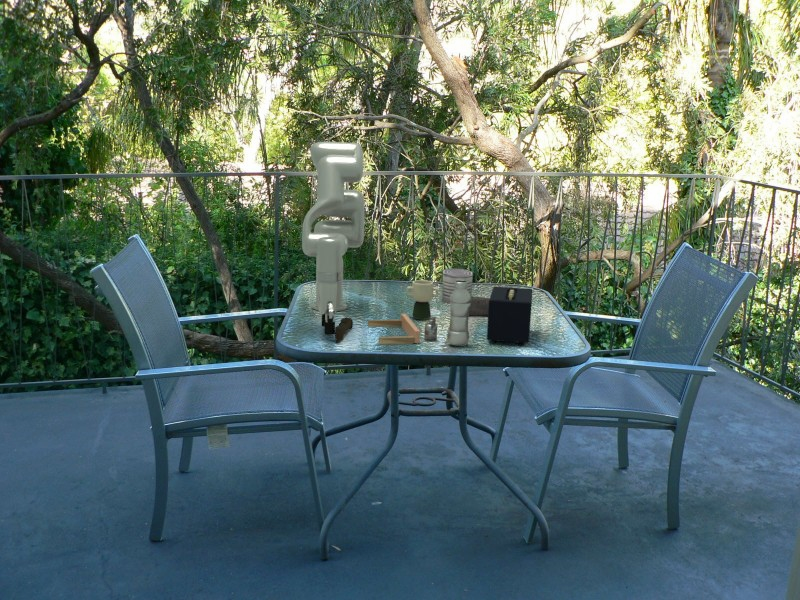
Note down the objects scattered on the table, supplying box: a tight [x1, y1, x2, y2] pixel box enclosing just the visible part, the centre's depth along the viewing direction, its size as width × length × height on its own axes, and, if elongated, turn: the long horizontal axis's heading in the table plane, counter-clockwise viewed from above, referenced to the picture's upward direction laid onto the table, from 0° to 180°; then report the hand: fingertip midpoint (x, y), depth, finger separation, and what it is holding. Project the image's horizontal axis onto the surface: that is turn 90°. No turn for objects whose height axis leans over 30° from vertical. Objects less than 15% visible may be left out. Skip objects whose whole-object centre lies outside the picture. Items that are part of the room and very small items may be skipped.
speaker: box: [486, 286, 533, 346], centre depth 266 cm, size 22×13×15 cm, turn 170°
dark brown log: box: [334, 317, 354, 344], centre depth 263 cm, size 19×4×5 cm, turn 172°
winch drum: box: [423, 316, 439, 342], centre depth 260 cm, size 6×4×8 cm, turn 11°
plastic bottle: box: [446, 280, 471, 347], centre depth 255 cm, size 6×7×20 cm
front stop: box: [400, 313, 421, 345], centre depth 267 cm, size 23×2×4 cm, turn 11°
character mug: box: [406, 279, 439, 320], centre depth 287 cm, size 11×7×13 cm, turn 88°
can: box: [441, 267, 474, 305], centre depth 315 cm, size 11×11×12 cm
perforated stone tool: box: [469, 295, 490, 317], centre depth 296 cm, size 15×5×7 cm, turn 91°
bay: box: [367, 319, 415, 345], centre depth 266 cm, size 23×11×2 cm, turn 11°
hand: (328, 330), depth 262 cm, fingers open, 9 cm apart
